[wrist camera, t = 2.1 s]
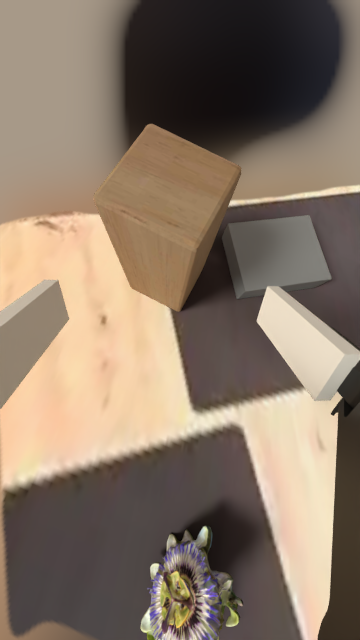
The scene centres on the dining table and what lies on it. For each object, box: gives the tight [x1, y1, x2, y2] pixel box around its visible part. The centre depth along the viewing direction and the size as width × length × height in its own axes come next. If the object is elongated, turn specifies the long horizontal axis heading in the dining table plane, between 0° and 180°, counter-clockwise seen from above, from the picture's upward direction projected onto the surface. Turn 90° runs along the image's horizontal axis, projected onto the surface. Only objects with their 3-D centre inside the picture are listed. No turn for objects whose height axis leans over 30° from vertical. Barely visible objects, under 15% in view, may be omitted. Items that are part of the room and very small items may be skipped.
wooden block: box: [94, 124, 241, 312], centre depth 27 cm, size 10×10×20 cm
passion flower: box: [141, 526, 243, 640], centre depth 24 cm, size 11×11×12 cm
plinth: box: [222, 215, 332, 299], centre depth 37 cm, size 16×13×4 cm
